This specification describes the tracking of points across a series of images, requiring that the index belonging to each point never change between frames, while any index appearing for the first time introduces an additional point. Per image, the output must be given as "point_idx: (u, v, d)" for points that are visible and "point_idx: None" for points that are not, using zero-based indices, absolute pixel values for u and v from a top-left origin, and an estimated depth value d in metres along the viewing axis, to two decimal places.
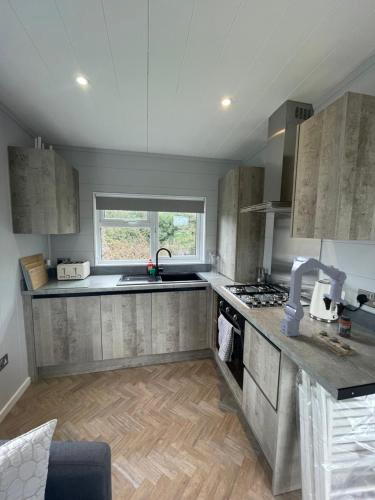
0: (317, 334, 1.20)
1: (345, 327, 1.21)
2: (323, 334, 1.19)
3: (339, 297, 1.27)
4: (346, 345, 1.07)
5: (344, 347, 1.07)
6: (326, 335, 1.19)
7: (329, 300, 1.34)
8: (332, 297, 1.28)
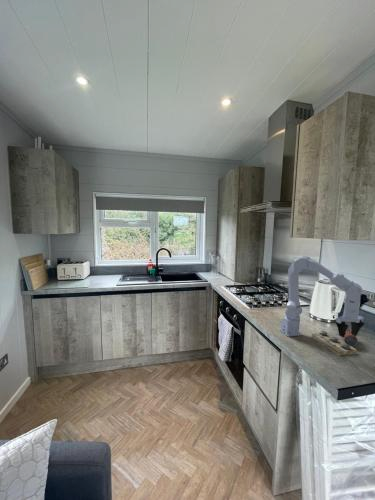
0: (317, 334, 1.20)
1: None
2: (323, 334, 1.19)
3: (345, 315, 1.05)
4: (346, 345, 1.07)
5: (344, 347, 1.07)
6: (326, 335, 1.19)
7: (356, 323, 1.07)
8: None
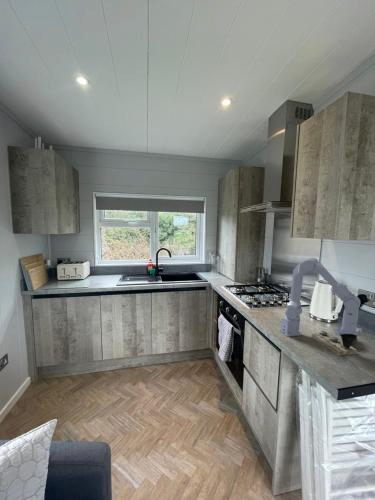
0: (317, 334, 1.20)
1: None
2: (323, 334, 1.19)
3: (344, 327, 1.06)
4: None
5: None
6: (326, 335, 1.19)
7: None
8: None
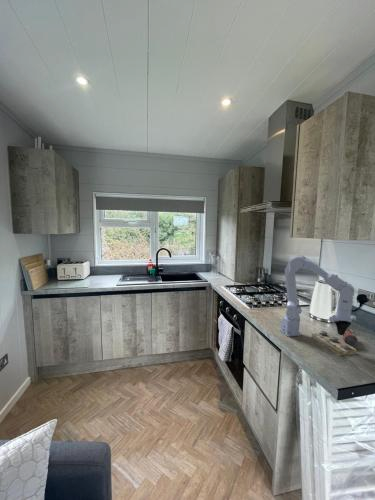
0: (317, 334, 1.20)
1: None
2: (323, 334, 1.19)
3: (338, 315, 1.08)
4: (346, 347, 1.07)
5: None
6: (326, 335, 1.19)
7: None
8: None
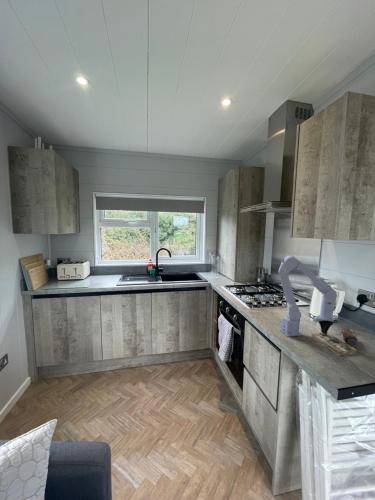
0: (317, 334, 1.20)
1: None
2: (323, 335, 1.19)
3: (321, 315, 1.18)
4: (346, 347, 1.07)
5: None
6: None
7: None
8: None
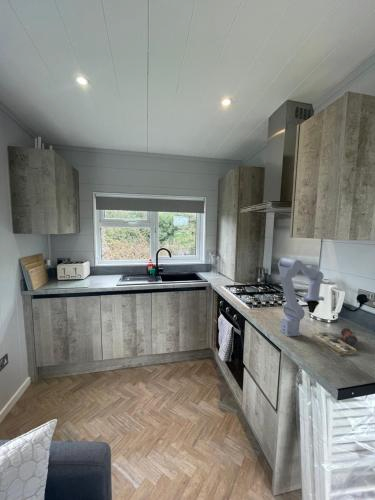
0: (317, 334, 1.20)
1: None
2: None
3: (309, 295, 1.30)
4: (346, 347, 1.07)
5: None
6: None
7: None
8: None
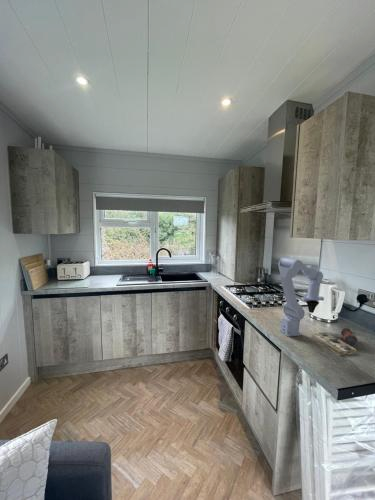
0: (317, 334, 1.20)
1: None
2: None
3: (309, 295, 1.30)
4: (346, 347, 1.07)
5: None
6: None
7: None
8: None
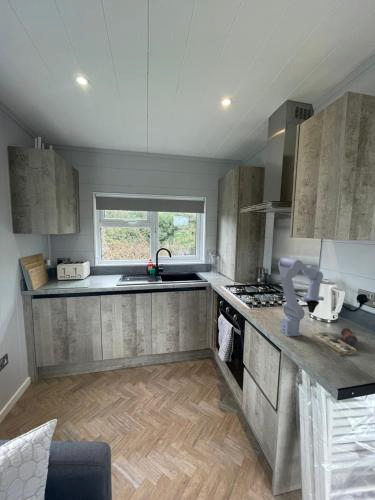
0: (317, 334, 1.20)
1: None
2: None
3: (309, 295, 1.30)
4: (346, 347, 1.07)
5: None
6: None
7: None
8: None
